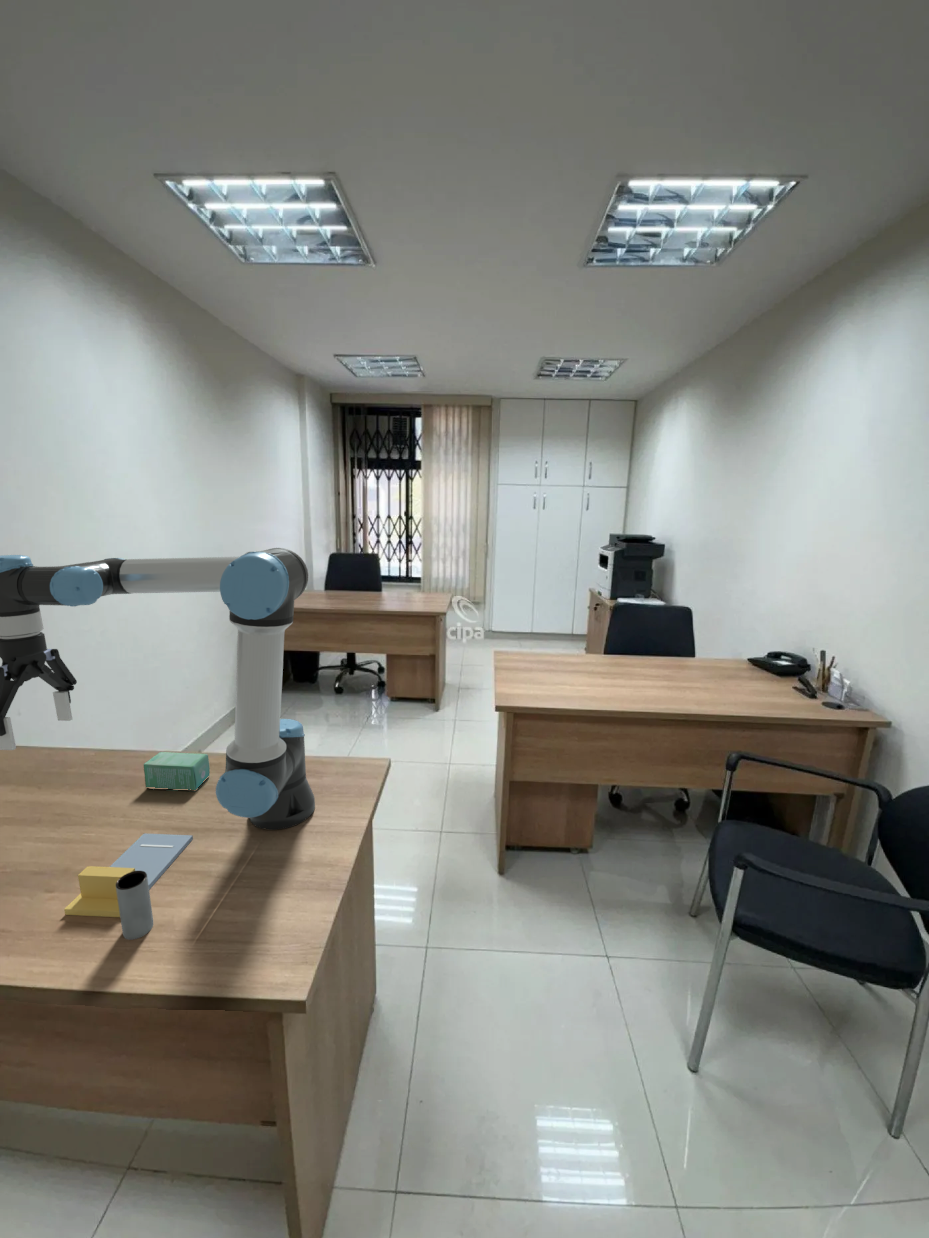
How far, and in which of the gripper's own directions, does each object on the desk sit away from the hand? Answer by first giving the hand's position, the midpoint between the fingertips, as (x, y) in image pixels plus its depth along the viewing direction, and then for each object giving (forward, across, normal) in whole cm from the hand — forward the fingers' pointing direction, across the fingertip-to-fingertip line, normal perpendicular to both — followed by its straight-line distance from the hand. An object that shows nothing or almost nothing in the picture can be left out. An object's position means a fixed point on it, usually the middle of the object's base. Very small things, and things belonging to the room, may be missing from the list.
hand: (38, 733), depth 104 cm
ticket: (+26, +5, +22) cm, 35 cm away
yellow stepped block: (+26, +16, +23) cm, 38 cm away
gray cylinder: (+26, +21, +32) cm, 47 cm away
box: (+26, -25, +11) cm, 38 cm away
